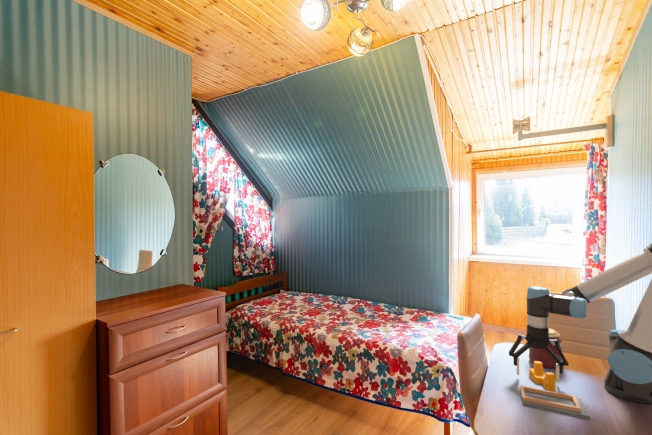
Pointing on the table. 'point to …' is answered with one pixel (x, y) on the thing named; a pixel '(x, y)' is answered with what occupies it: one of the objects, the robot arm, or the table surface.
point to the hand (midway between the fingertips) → (537, 377)
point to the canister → (543, 354)
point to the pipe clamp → (542, 376)
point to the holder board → (553, 402)
